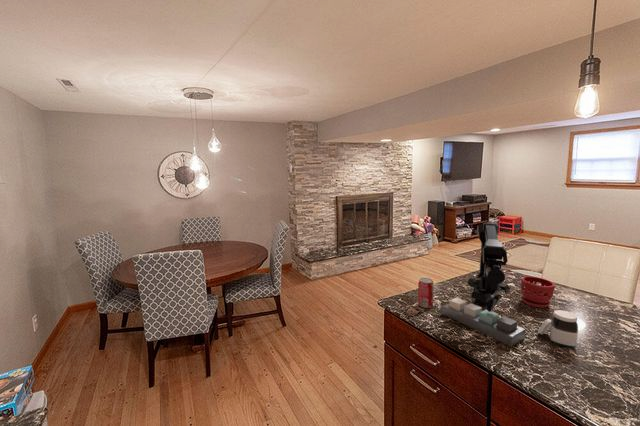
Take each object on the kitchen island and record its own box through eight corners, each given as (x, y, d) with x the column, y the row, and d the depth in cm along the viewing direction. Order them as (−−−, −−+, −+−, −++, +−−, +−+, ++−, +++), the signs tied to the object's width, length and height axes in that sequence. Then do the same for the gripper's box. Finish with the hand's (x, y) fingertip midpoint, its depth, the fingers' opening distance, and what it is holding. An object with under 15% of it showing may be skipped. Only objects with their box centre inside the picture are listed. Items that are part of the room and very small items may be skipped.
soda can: (434, 309, 141) (435, 283, 139) (418, 308, 143) (419, 282, 141) (431, 303, 148) (432, 278, 146) (416, 301, 149) (417, 277, 148)
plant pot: (523, 307, 142) (525, 283, 141) (516, 296, 154) (518, 274, 153) (556, 312, 137) (559, 287, 136) (547, 300, 150) (549, 277, 148)
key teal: (485, 318, 126) (486, 309, 126) (497, 324, 122) (498, 314, 121) (479, 322, 124) (479, 312, 123) (491, 327, 119) (492, 317, 119)
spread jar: (577, 352, 107) (581, 322, 105) (539, 343, 113) (542, 314, 111) (571, 337, 117) (575, 309, 115) (536, 329, 123) (539, 302, 121)
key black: (502, 326, 120) (503, 316, 120) (516, 331, 116) (517, 321, 116) (496, 329, 118) (497, 319, 117) (509, 335, 114) (510, 325, 113)
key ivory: (456, 306, 138) (456, 297, 138) (466, 310, 134) (466, 301, 133) (449, 309, 136) (449, 300, 135) (459, 313, 131) (459, 304, 131)
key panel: (455, 308, 141) (455, 300, 141) (524, 338, 116) (525, 329, 116) (441, 314, 136) (442, 306, 136) (511, 346, 111) (512, 336, 110)
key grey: (470, 312, 132) (470, 303, 132) (481, 317, 128) (481, 307, 127) (463, 315, 130) (464, 306, 129) (474, 320, 125) (475, 310, 125)
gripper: (485, 265, 132) (482, 298, 134) (459, 273, 122) (457, 309, 124) (512, 273, 122) (508, 308, 124) (486, 282, 113) (483, 320, 115)
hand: (489, 311), depth 122 cm, fingers closed
